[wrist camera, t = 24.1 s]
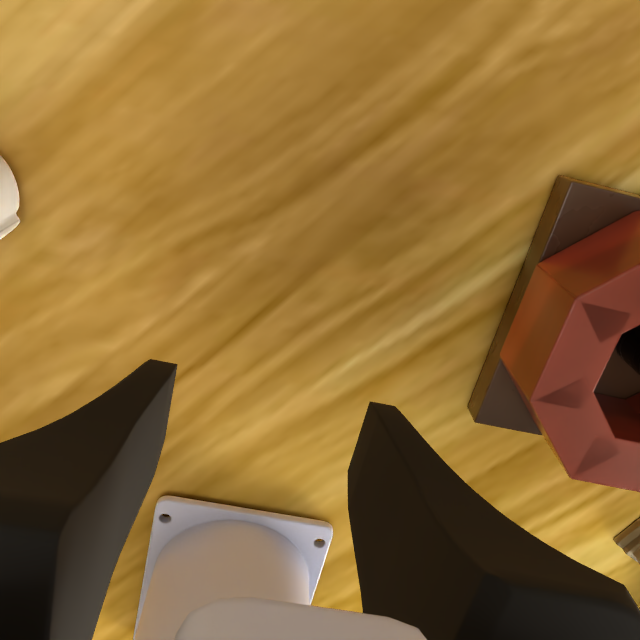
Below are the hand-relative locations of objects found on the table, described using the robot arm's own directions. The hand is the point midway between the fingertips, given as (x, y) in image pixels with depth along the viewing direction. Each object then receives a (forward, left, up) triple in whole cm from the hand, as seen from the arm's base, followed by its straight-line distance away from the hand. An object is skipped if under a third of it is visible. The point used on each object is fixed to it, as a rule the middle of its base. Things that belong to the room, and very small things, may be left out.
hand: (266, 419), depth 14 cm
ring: (+1, -14, -9) cm, 16 cm away
